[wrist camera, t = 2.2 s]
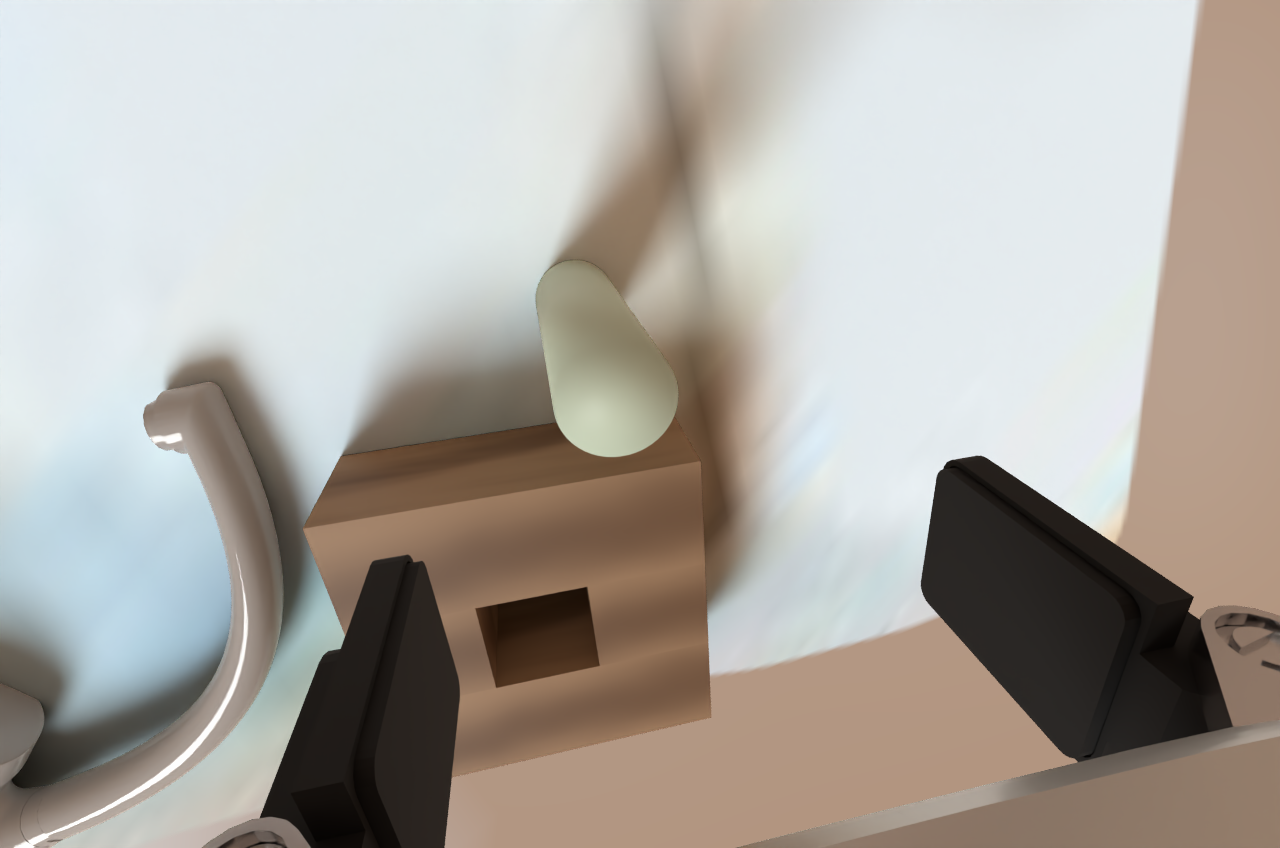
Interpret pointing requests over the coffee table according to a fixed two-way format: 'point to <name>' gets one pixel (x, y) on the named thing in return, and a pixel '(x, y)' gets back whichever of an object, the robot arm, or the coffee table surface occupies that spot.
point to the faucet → (12, 721)
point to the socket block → (538, 580)
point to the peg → (601, 364)
